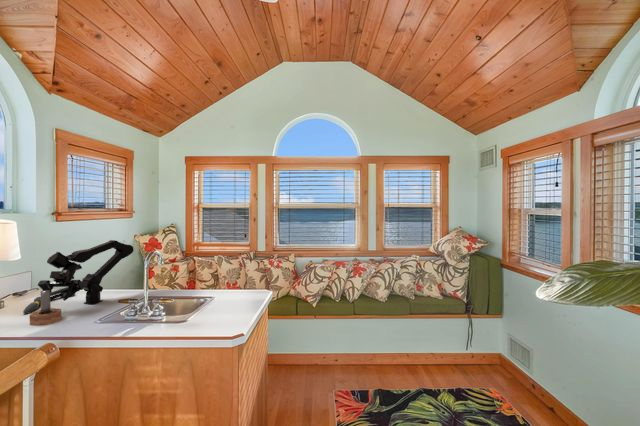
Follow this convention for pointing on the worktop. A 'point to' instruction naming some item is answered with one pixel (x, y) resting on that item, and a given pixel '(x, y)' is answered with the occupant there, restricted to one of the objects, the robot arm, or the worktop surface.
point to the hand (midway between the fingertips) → (53, 300)
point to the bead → (45, 317)
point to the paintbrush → (33, 305)
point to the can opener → (61, 291)
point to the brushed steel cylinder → (45, 302)
